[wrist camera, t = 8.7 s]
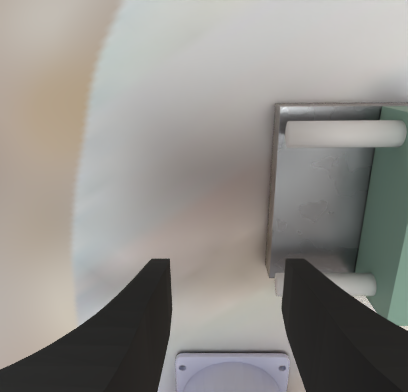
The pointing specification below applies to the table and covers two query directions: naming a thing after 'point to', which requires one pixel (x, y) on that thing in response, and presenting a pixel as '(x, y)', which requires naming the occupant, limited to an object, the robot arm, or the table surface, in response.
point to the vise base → (318, 192)
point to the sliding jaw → (372, 206)
